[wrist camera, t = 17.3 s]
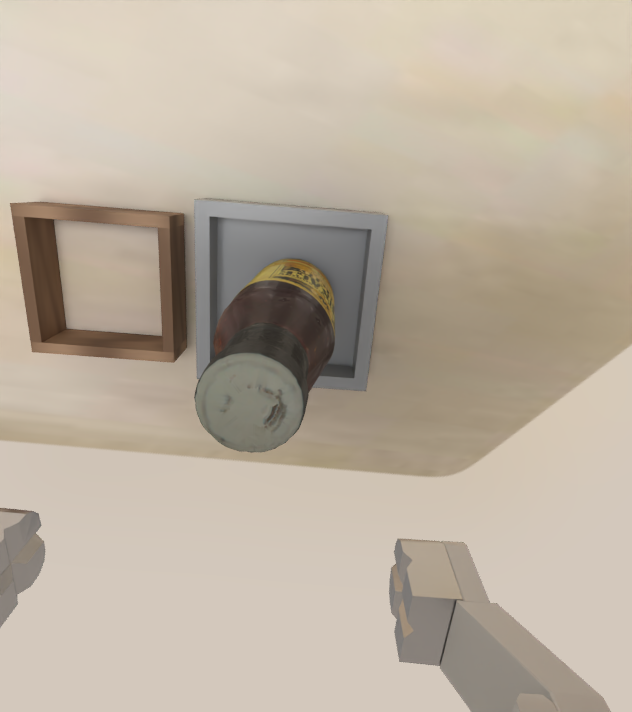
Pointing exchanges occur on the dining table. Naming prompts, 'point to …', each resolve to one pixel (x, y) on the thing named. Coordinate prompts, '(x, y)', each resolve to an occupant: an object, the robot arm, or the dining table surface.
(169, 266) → the walnut collar
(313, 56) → the dining table surface
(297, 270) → the sauce bottle
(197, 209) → the grey tray
